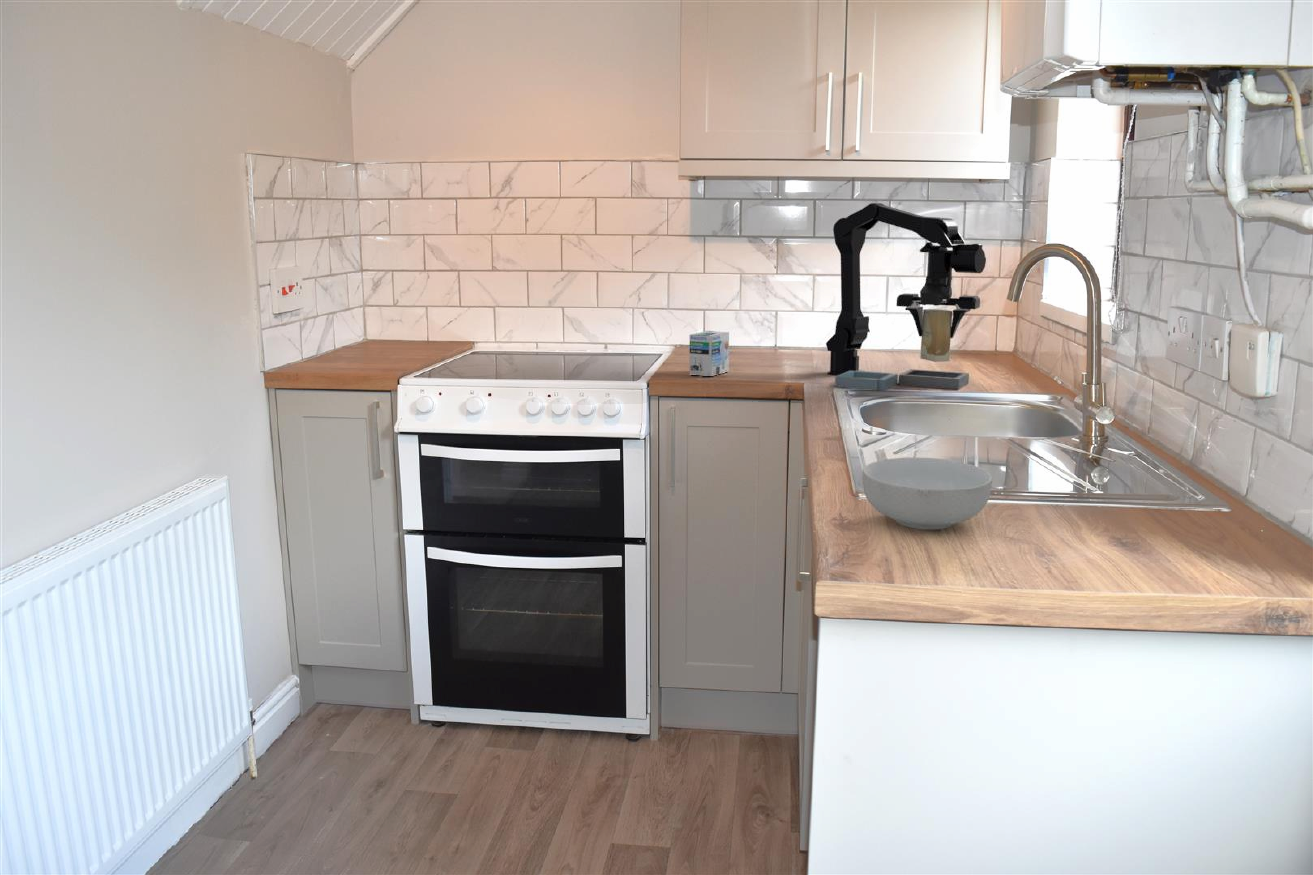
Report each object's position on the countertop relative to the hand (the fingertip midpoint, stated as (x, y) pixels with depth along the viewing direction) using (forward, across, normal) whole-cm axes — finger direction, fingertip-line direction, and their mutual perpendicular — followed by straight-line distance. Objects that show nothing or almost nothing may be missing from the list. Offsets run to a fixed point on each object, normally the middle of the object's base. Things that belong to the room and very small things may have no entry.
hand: (936, 337), depth 251 cm
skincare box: (+6, 0, 0) cm, 6 cm away
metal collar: (+12, 0, 0) cm, 12 cm away
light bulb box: (+12, -56, -10) cm, 58 cm away
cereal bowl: (+12, +28, -115) cm, 119 cm away
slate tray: (+12, -14, -9) cm, 20 cm away
